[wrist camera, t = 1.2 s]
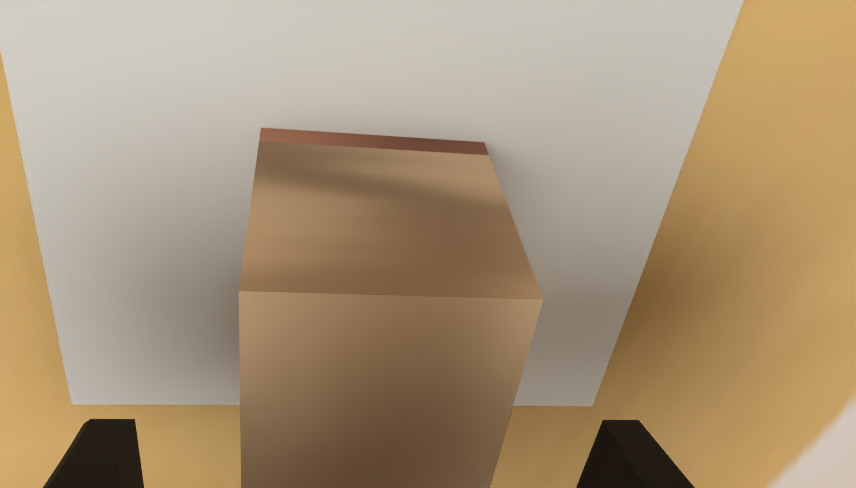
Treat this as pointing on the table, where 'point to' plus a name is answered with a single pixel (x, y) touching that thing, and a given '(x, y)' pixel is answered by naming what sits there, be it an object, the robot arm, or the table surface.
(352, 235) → the block
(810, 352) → the table surface
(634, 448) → the robot arm
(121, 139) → the board
